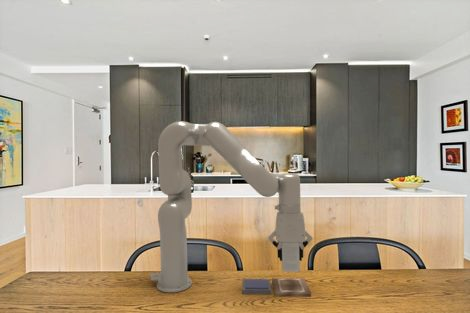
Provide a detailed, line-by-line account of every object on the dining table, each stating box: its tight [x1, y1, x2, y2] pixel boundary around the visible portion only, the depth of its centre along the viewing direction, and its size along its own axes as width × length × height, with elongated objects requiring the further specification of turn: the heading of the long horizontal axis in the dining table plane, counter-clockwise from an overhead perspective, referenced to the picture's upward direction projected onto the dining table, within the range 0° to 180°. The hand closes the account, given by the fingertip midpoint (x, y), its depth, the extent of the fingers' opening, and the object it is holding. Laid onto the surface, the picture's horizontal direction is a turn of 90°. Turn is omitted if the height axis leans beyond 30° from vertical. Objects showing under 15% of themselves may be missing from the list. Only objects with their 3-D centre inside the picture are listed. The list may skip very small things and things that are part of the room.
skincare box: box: [281, 243, 301, 273], centre depth 110 cm, size 6×4×12 cm
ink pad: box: [241, 278, 273, 295], centre depth 111 cm, size 10×9×2 cm
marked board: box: [271, 278, 312, 298], centre depth 110 cm, size 12×12×1 cm
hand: (290, 259), depth 110 cm, fingers closed on skincare box, 6 cm apart
